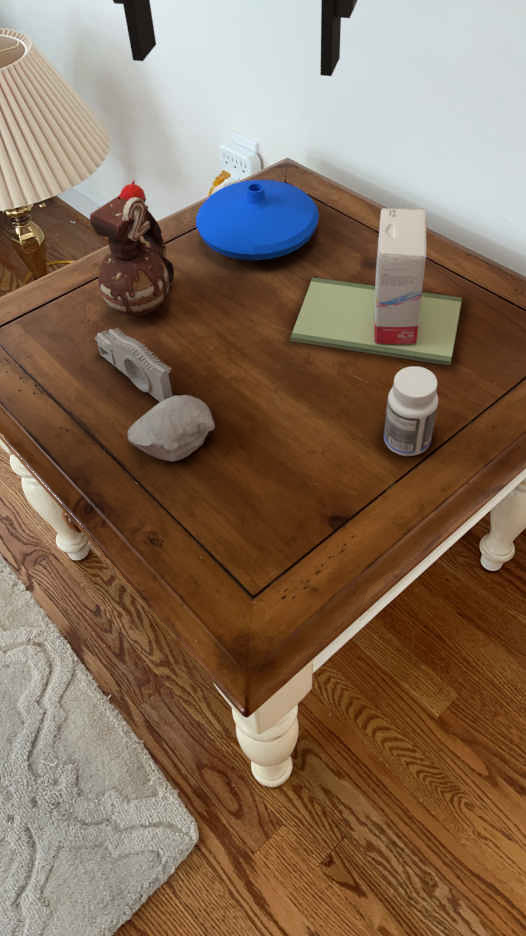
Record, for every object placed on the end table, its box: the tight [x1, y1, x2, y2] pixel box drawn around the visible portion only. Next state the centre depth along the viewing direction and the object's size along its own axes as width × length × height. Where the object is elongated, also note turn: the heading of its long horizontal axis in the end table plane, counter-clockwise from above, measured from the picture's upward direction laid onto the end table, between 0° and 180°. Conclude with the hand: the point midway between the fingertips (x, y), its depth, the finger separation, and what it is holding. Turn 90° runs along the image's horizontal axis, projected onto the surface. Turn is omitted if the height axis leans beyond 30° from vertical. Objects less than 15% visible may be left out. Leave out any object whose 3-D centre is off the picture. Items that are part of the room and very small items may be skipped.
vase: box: [195, 179, 320, 261], centre depth 95 cm, size 16×16×7 cm
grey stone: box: [127, 394, 216, 462], centre depth 75 cm, size 9×8×5 cm
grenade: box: [89, 179, 175, 317], centre depth 84 cm, size 9×8×15 cm
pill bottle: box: [383, 365, 439, 457], centre depth 72 cm, size 5×5×8 cm
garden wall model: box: [94, 327, 174, 403], centre depth 80 cm, size 12×2×6 cm, turn 44°
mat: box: [290, 277, 463, 366], centre depth 86 cm, size 18×11×1 cm, turn 75°
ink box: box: [374, 207, 427, 344], centre depth 81 cm, size 9×5×12 cm, turn 173°
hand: (235, 60), depth 52 cm, fingers open, 13 cm apart
